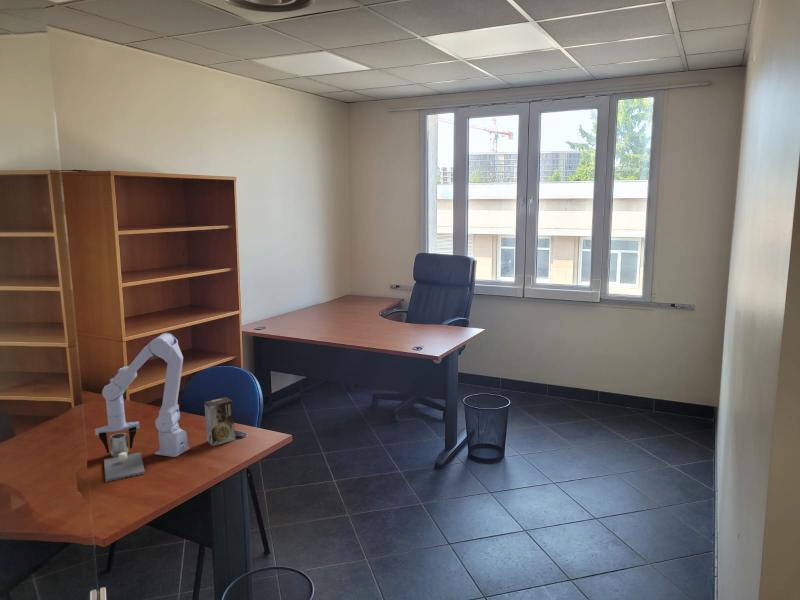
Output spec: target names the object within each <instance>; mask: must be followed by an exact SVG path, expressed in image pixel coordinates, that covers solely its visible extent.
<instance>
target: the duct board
mask: <svg viewBox="0 0 800 600" xmlns="http://www.w3.org/2000/svg"><path fill="white" fill-rule="evenodd" d="M103 462H104V463H103V464H104V477H105V480H104V481H105V483H107V482H108V481H109V482H113V480H114V481H118V480H121V479H122V478H123V479H126V478H125V477H128V478H131V477H130V476H132V477H136V475H137V476H141V474H142V475H145V474H146V471H145V467H144V462H143V456H142V452H141V451H140V452H136V453H135V452H134V453H131V454H129V453H128V454H127V453H126V452H122V453H119V454H118V457H110V458H105V459H103ZM123 479H122V480H123Z"/></svg>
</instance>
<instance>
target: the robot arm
mask: <svg viewBox="0 0 800 600" xmlns="http://www.w3.org/2000/svg"><path fill="white" fill-rule="evenodd" d="M155 356H157V357H159V358H161V359H162V360H164V362H166V363H167V365H166V366H167V367H166V374H165V381H164V387H163V388H164V389H163V396H162V405H161V407H160V409H159V412H158V417H156V419H155V420H154V421H155V422H154V425H155V428H156V429H157V430H158V442H159V450H157V451H155V452H154V455H158V456H164V457H165V456H166V457H171V458H176V457H178V456H179V455H181V454H183V453H185V452H187V451H188V450H190V447H189V445H188V434H187V432H186V430H183V429H182V428H180V424H179V420H180V419H181V413H180V405H179V404H178V399H179V394H180V393H179V392H180V386H181V379H182V371H183V363H184V356H183V354H182V351H181V348H180V346H179V340H178V339H177V338H176V337H175V336H174V335H173V334H172V333H169V332H163V333H161V334H160V335H159V336H158V337H156V338H153V339H152V340H151V341H150V342H149V343H148V344H147V345H145V346H144V347H143V348H142V350H141V351H140V352H139V353H138V355H136V357H135V358H134V359H133V361H131V363H130V364H129V365H128V366H127V365H126V366H123V367H120V368H119V369H117V374H115V376H114V377H113V378H110V379H109V384H106V385H104V387H103V389H102V390H101V395H102V397H103V398H104V399H105V403H106V414H107V425H105V426H102V427H99V428H95V429H94V433H95V436H98V438H99V440H100V441H101V442H102V444H103V445H104V448H105V450H106V453H107V454H110V449H109V448H110V447H109V442H108V434H109V433H113V432H114V433H115V432H120V431H125V430H128V434H129V435H128V436H129V449H133V444H134V438H135V437H136V434H137V429H139V428H140V421H130V422H127V421H126V415H125V412H126V411H125V402H124V394H125V392H126V389H127V388H128V387H129V386H130V385H131V384H132V382H133V381H134V380H135V379H136V378H137V377H138V372H137V371H138V370H139V369H140V368H141V367H142V366H143V365H144V364H145V363H146V362H147V360H149V358H152V357H155Z"/></svg>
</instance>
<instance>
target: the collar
mask: <svg viewBox="0 0 800 600" xmlns="http://www.w3.org/2000/svg"><path fill="white" fill-rule="evenodd" d="M128 442H129V440H128V434H127V433H125V432H118V433H113V434H111V435H110V436H109V445H110V447H109V448H110V454H111V458H114V457H118V454H119V453H122V452H126V453H127V455H129V443H128Z"/></svg>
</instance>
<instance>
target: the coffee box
mask: <svg viewBox="0 0 800 600" xmlns="http://www.w3.org/2000/svg"><path fill="white" fill-rule="evenodd" d="M203 403H204V404H203V405H204V406H203V407H204V415H205V416H204V417H205V419H204V420H205V427H206V438H207V439H206V440H207V443H208V444H210V445H211V446H212V447H215V446H218V445H221V444H222V445H223V444H226V443H230V442H234V441H236V433H235V423H234V421H235V420H234V410H233V409H234V407H233V400H232V399H230V398H228V397H227V396H224V397H220V398H216V399H211V400H207V401H206V400H205V401H204V402H203Z"/></svg>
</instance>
